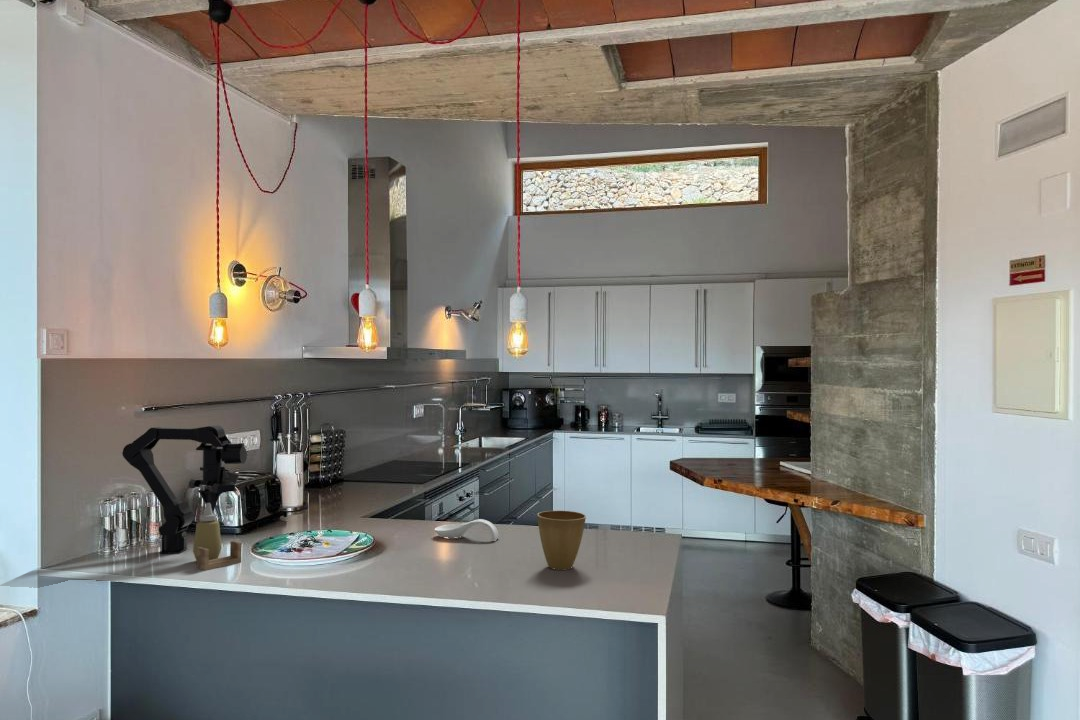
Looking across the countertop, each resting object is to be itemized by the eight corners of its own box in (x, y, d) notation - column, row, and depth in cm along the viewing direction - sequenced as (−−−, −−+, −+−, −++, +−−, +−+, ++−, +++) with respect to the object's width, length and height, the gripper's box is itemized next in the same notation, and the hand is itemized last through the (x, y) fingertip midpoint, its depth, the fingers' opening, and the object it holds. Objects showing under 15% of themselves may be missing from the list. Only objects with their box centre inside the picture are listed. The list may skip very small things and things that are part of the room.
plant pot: (550, 575, 208) (550, 521, 209) (529, 563, 222) (529, 512, 222) (594, 570, 215) (594, 517, 215) (571, 558, 228) (571, 508, 228)
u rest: (197, 567, 213) (197, 547, 213) (233, 559, 223) (233, 540, 223) (205, 570, 211) (205, 549, 211) (241, 562, 220) (241, 542, 220)
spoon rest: (429, 540, 253) (429, 519, 253) (442, 533, 264) (442, 513, 265) (491, 545, 247) (492, 524, 247) (502, 537, 258) (503, 517, 258)
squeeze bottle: (210, 565, 216) (211, 506, 216) (186, 563, 217) (187, 504, 218) (226, 558, 224) (228, 501, 224) (204, 557, 225) (205, 500, 226)
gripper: (250, 463, 234) (250, 511, 234) (220, 459, 245) (219, 504, 245) (218, 467, 225) (217, 516, 225) (188, 462, 236) (187, 509, 236)
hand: (211, 511), depth 233 cm, fingers closed
